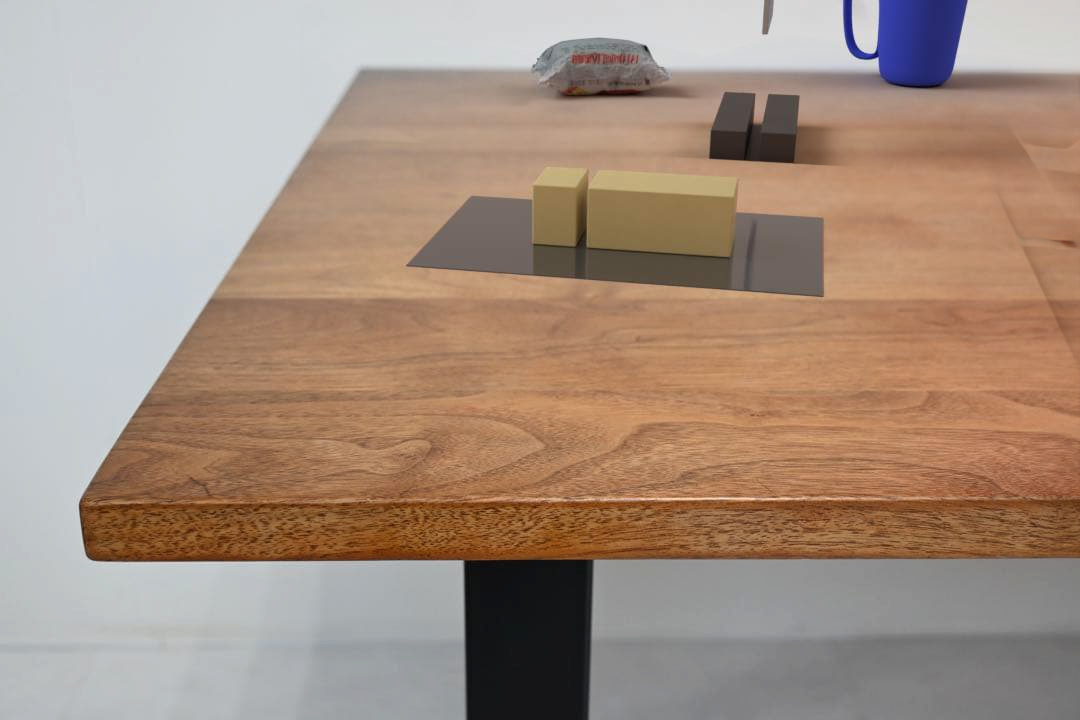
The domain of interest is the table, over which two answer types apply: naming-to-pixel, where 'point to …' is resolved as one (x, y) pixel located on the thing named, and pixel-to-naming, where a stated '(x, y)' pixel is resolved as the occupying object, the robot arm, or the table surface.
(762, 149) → the knife holder
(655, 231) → the butter stick
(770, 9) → the scraper knife
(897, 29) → the mug
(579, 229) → the butter slice
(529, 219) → the butter board
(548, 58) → the packaged food
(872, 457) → the table surface
